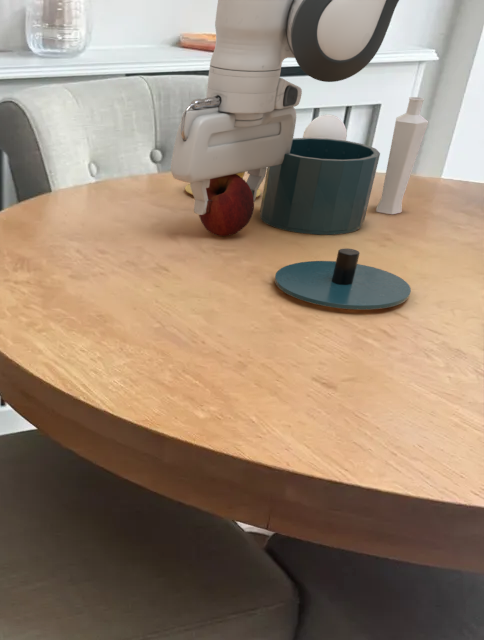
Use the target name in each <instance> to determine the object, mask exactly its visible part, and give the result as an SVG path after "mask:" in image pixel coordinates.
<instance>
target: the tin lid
mask: <svg viewBox="0 0 484 640" xmlns="http://www.w3.org/2000/svg"><path fill="white" fill-rule="evenodd" d="M360 255H361V253H360V251H359V250H357V249H354V248H340V249H338V250H337V255H336V260H335V261H334V260H311V261H308V260H307V261H302V262H301V261H299V262H295V263H292V264H291V263H290V264H288V265H285V266H283V267H281V268H279V269H278V270H277V271H276V273H275V275H274V284H275V285H276V287H277V288H278V289H279V290H281V291H282V292H283V293H285V294H287V295H288V296H291V297H292V298H295V299H296V300H297V299H298V300H301V301H304V302H307V303H309V304H313V305H317V306H323V307H329V308H333V309H334V308H336V309H343V310H359V311H360V310H361V311H362V310H381V309H388V308H392V307H395V306H399V305H401V304H404V302H406V301H407V300H408V299H409V298H410V295H411V292H412V288H411V286H410V285H409V283H408V282H407V281H406V280H404V279H403V278H402V277H400V276H398V275H396V274H394V273H391V272H389V271H387V270H384V269H381V268H377V267H375V266H371V265H370V266H369V265H365V264H360V263H358V262H359V259H360Z"/></svg>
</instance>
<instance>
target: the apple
mask: <svg viewBox="0 0 484 640" xmlns="http://www.w3.org/2000/svg"><path fill="white" fill-rule="evenodd" d="M246 182H247V180H245V179H244V177H243V178H241V177H240V176H238V175H237V174H233V175H228V176H223V177H218V178H213V179H210V184H209V188H206V192H207V197H208V199H210V200H212V205H211V211H210V213H207V214H204V215H199V214H198V216H199V218H200V221H201V224H202V225H203V227H204V229H206V231H208V232H209V233H211V234H213V235H215V236H218V237H227V236H233V235H235V234H237V233H239V232H241V231H242V230H243V229H244V228H245V227H246V226H247V225H248V224H249V223H250V221H251V219H252V216H253V214H254V210H255V202H254V200H253V195H252V192H251V189H250V187H249V185H248V184H247V183H246Z"/></svg>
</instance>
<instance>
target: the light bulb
mask: <svg viewBox="0 0 484 640" xmlns="http://www.w3.org/2000/svg"><path fill="white" fill-rule="evenodd" d="M347 131H348V130H347V128H346V126H345V123H344V121H342V119H341V118H339V117H338V116H336V115H334V114H321V115H319V116H317V117H315V118H314V119H312V120H311V121H310V123H308V124H307V126H306V127H305V129H304V131H303V134H302V138H327V139H336V140H345V141H347V137H348V132H347Z"/></svg>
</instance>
